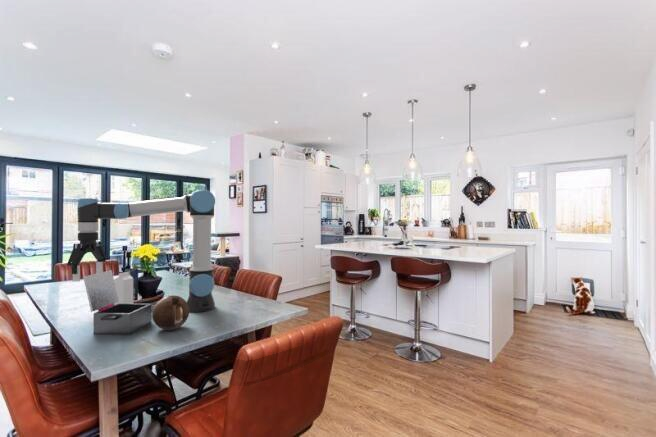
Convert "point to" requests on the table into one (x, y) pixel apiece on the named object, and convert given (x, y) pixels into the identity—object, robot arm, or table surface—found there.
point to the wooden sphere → (170, 312)
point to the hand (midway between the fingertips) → (88, 278)
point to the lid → (100, 290)
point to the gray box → (122, 319)
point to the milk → (124, 288)
